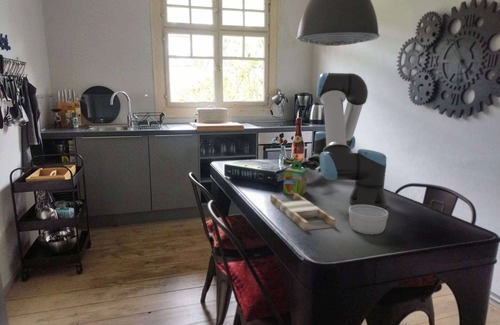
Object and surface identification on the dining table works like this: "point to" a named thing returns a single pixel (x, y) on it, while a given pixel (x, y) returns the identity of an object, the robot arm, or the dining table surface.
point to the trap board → (304, 213)
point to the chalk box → (295, 179)
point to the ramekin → (367, 219)
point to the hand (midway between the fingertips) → (302, 170)
